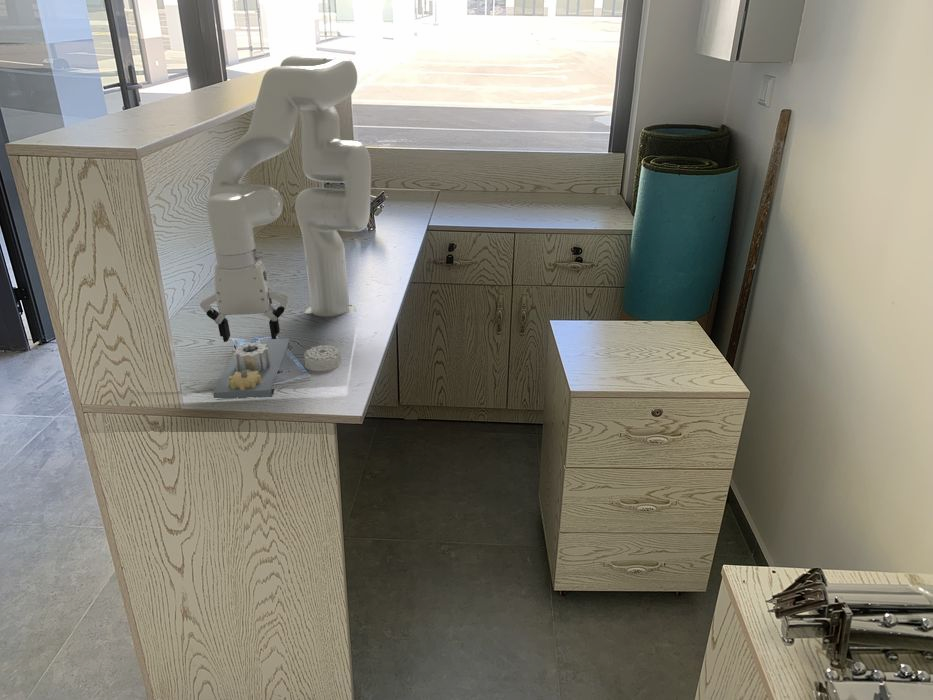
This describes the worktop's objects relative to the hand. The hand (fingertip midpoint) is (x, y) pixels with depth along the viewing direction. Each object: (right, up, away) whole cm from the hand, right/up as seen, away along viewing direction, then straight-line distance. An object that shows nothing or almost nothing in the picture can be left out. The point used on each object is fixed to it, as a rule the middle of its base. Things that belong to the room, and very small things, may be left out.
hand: (251, 337), depth 143 cm
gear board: (0, -7, +4) cm, 8 cm away
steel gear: (0, -6, +2) cm, 6 cm away
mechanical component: (+14, -7, +4) cm, 16 cm away
